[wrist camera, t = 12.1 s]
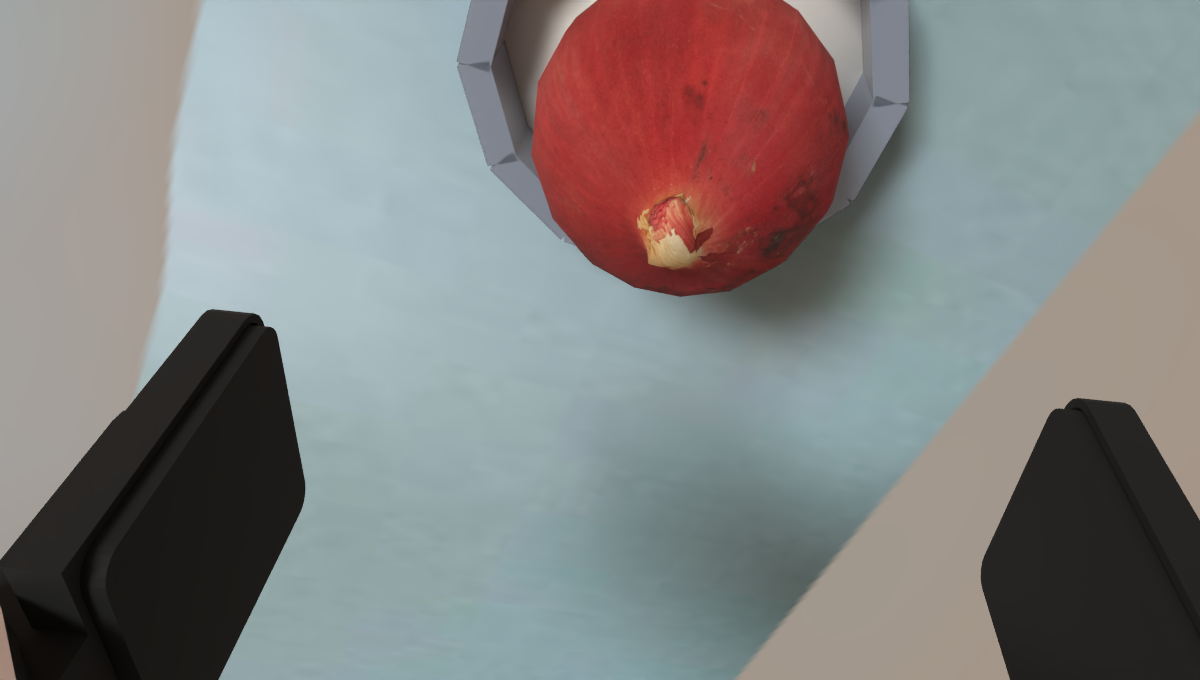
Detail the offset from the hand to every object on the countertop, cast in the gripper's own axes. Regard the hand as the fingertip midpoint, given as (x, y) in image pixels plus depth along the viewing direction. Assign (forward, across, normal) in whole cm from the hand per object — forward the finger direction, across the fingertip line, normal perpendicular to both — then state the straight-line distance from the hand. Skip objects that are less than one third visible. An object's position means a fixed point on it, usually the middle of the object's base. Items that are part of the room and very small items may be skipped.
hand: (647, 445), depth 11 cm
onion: (+12, 0, -1) cm, 12 cm away
